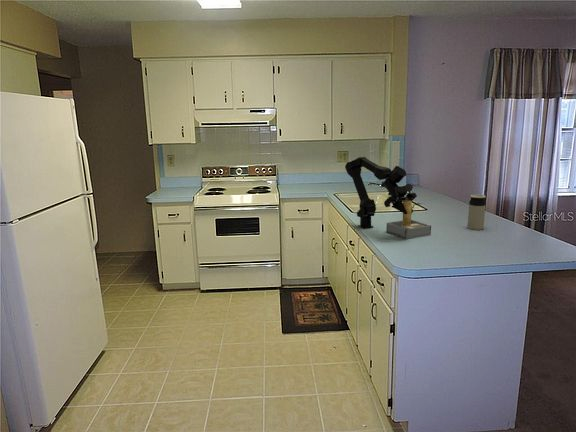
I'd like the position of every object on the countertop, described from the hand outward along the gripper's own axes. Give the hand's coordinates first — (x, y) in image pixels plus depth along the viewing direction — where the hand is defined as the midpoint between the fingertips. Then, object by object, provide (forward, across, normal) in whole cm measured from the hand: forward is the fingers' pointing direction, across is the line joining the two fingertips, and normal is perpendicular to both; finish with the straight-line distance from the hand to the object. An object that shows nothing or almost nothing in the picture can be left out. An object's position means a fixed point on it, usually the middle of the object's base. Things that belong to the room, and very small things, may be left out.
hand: (409, 213), depth 201 cm
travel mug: (+16, +44, +4) cm, 47 cm away
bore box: (+4, +9, +15) cm, 18 cm away
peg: (+4, 0, +6) cm, 7 cm away
